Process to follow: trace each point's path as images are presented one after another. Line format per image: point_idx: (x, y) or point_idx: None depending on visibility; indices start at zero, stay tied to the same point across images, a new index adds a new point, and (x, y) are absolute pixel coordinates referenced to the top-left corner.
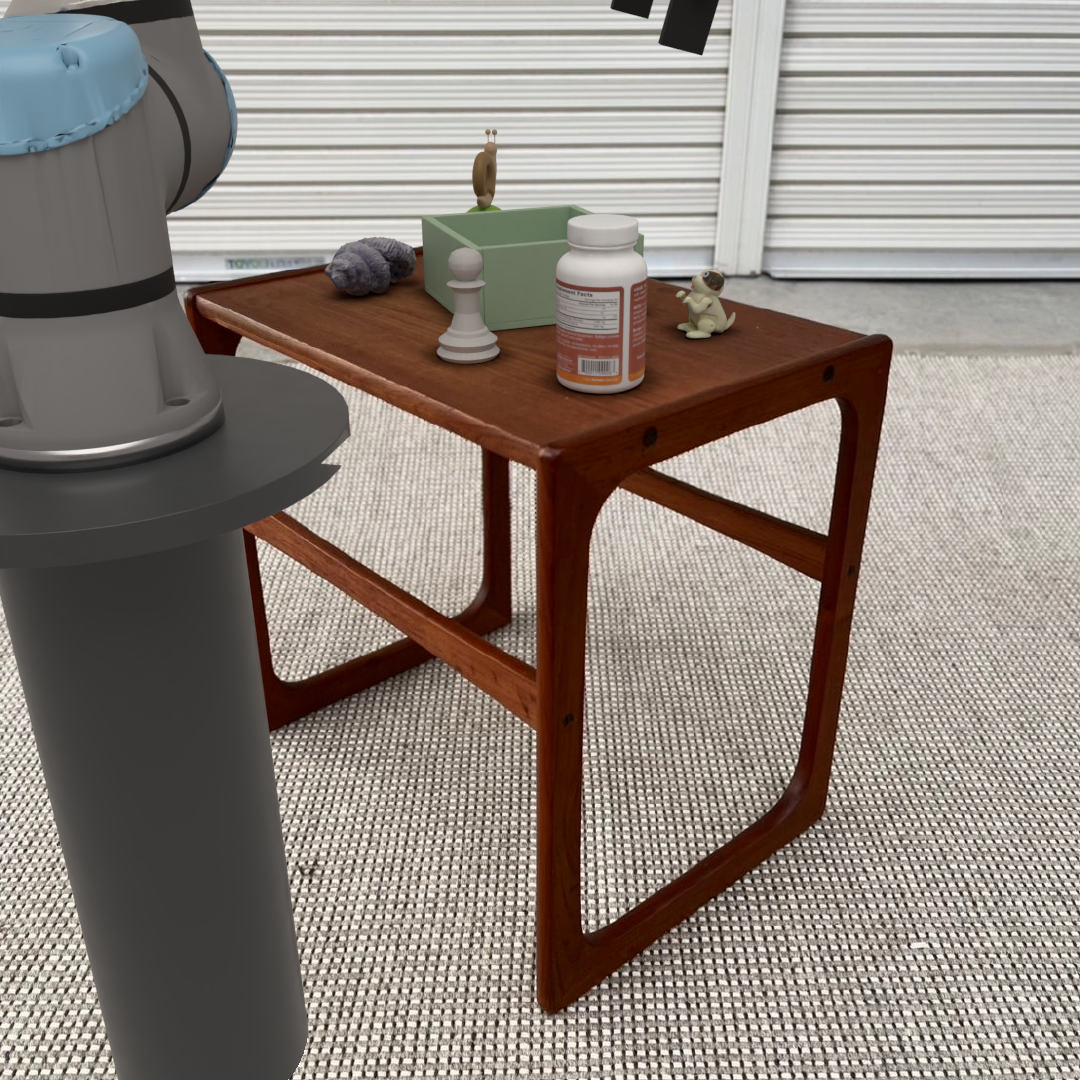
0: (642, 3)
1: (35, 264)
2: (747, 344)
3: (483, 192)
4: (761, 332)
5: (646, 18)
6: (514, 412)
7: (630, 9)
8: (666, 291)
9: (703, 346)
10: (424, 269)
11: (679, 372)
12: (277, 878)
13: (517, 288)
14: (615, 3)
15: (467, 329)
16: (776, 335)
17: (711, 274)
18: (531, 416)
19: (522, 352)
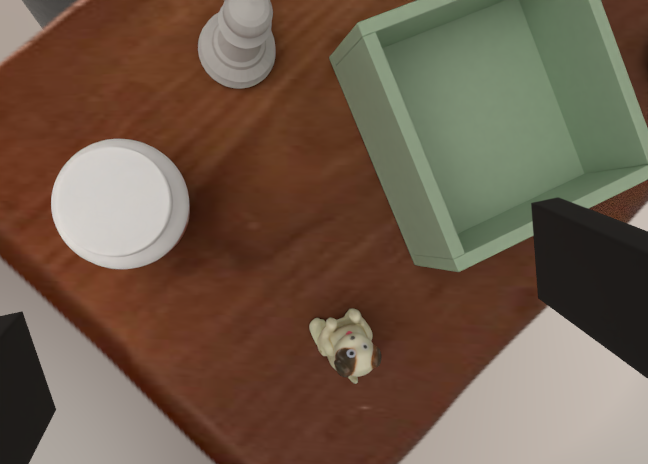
0: (552, 285)
1: None
2: (293, 391)
3: None
4: (344, 411)
5: (538, 293)
6: (21, 111)
7: (540, 251)
8: (524, 300)
9: (283, 337)
10: None
11: (178, 304)
12: (56, 9)
13: (364, 99)
14: (538, 210)
15: (218, 40)
16: (332, 428)
17: (347, 360)
18: (7, 131)
19: (251, 117)
